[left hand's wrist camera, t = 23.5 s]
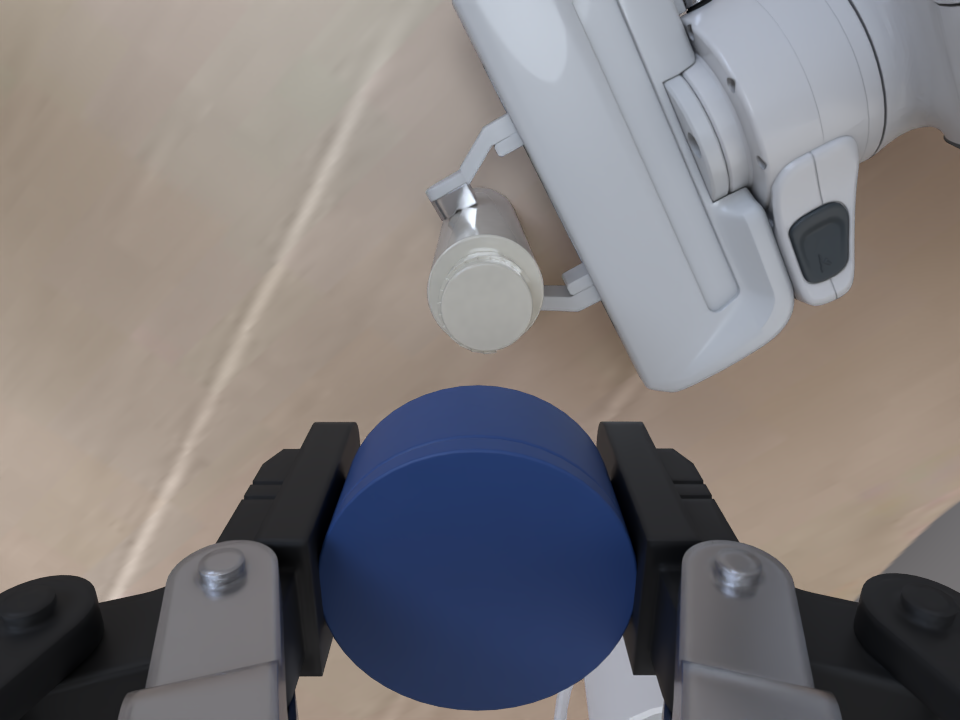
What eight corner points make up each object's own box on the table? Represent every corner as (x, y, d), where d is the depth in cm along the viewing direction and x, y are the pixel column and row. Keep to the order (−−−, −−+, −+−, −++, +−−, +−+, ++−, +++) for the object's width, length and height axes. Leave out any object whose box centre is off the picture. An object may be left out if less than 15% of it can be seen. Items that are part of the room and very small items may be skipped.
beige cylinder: (440, 189, 36) (417, 250, 20) (515, 184, 35) (548, 241, 20) (446, 264, 37) (429, 371, 22) (519, 258, 37) (552, 363, 22)
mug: (700, 564, 44) (761, 694, 34) (704, 667, 47) (761, 812, 38) (534, 585, 45) (548, 717, 35) (549, 685, 48) (566, 832, 38)
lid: (661, 527, 11) (699, 617, 9) (454, 649, 12) (449, 755, 10) (507, 329, 10) (513, 385, 8) (290, 482, 11) (248, 565, 9)
